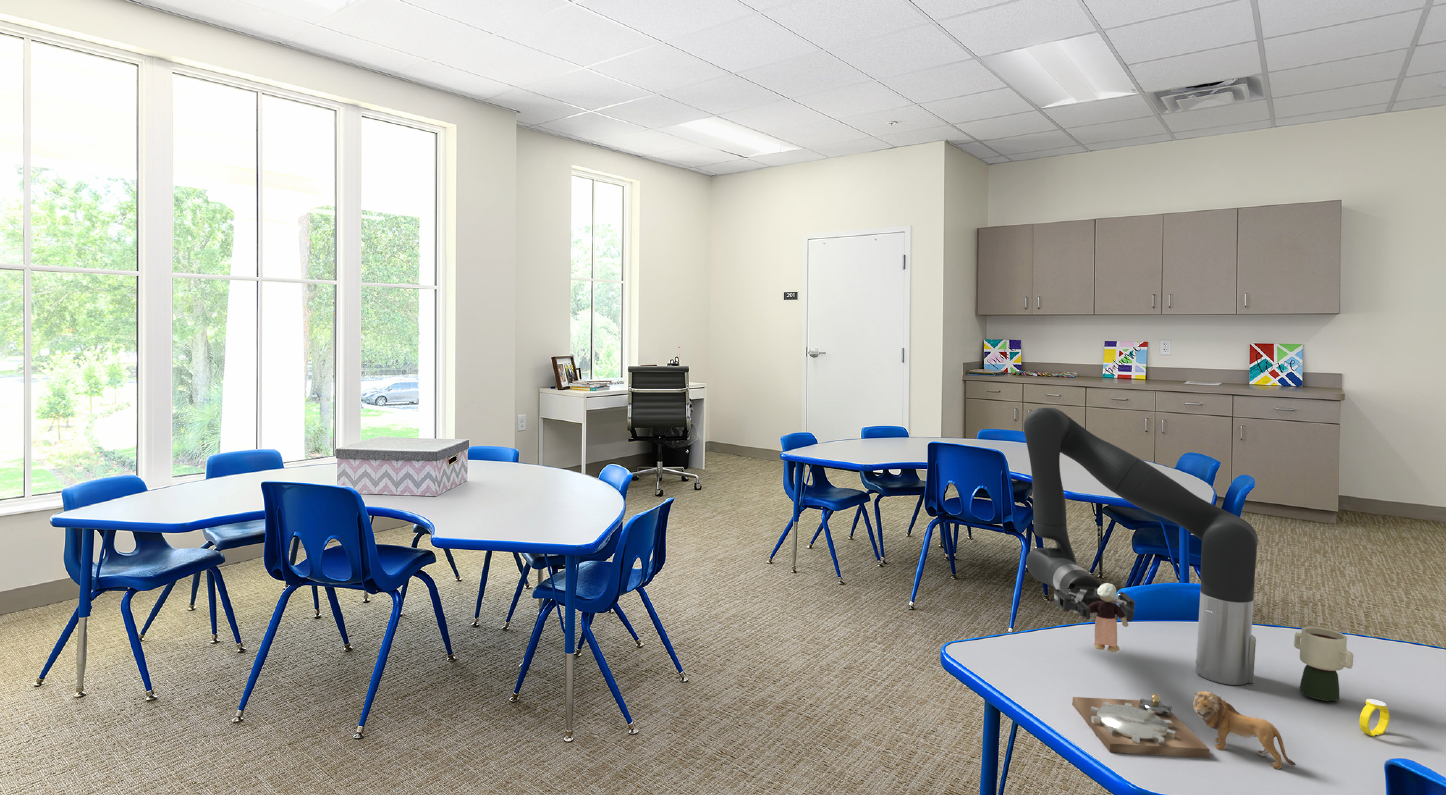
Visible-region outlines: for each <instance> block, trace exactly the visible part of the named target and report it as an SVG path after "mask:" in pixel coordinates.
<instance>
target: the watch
mask: <svg viewBox="0 0 1446 795" xmlns="http://www.w3.org/2000/svg"><path fill="white" fill-rule="evenodd" d="M1365 704H1366V705H1365V706H1364V707H1363V708H1362V710H1361V713H1360V716H1359V721H1358V722H1359V728H1360V731H1361V732H1362V733H1363V732H1364V733H1365V734H1364V733H1363V734H1364V735H1366V734H1368V735H1367V736H1369V735H1370V736H1369V737H1371V736H1373V737H1376V736H1375V735H1377V734H1378V735H1377V736H1380V735H1379V734H1381V735H1382V734H1383V735H1384V733H1386V731H1387V729H1388V727H1389V724H1390V718H1391V717H1390V711H1389V708H1388V706H1387V704H1386V703H1385V702H1384V701H1380V700H1377V699H1375V698H1374V699H1373V698H1367V699H1365ZM1377 709H1378V710H1379V720H1378V722H1377V725H1376V726H1375V727H1374V729H1370V719H1371V717H1372V714H1373V713H1374V711H1376V710H1377ZM1370 731H1371V732H1370Z"/></svg>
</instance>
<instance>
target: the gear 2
mask: <svg viewBox="0 0 1446 795" xmlns="http://www.w3.org/2000/svg"><path fill="white" fill-rule="evenodd" d="M1139 700H1140V704H1139V708H1140V709H1143V710H1146V711H1147V710H1149V709H1151V710H1154V711H1156V715H1157V716H1165V717H1167V718H1169V717H1170V714H1171V712H1172V710H1173V709H1172V706H1171V705H1169V704H1165V703H1163V702H1162V703H1160V702H1161V701H1160V694H1159V693H1156V692H1155V693H1154V692H1153V693H1151V700H1149V699H1147V700H1146V699H1144V698H1139ZM1159 701H1160V702H1159Z"/></svg>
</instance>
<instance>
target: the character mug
mask: <svg viewBox="0 0 1446 795" xmlns="http://www.w3.org/2000/svg"><path fill="white" fill-rule="evenodd" d="M1347 640H1348V638H1347V636H1346V635H1345V634H1343V633H1341V632H1339V631H1336V630H1334V629H1330V628H1326V627H1318V626H1303V627H1302V628H1301V632H1295V634H1294V639H1293V641H1294V642H1293V647H1294V648H1296V649H1297V650H1299V660H1300V661H1301V663H1303V664H1305V666H1304V668H1303V672H1302V676H1301V680H1300V685H1299V691H1300V692H1301V693H1302V694H1303V695H1304V696H1307V697H1309V698H1312V699H1316V700H1321V701H1326V700H1328V701H1340V698H1341V697H1340V695H1341V694H1340V681H1339V675H1338V673H1337V671H1342V670H1343V669H1344V668H1346V669H1350V670H1351V669H1352V668H1353V666H1354V653H1353V652H1351V651H1350V650H1348V648H1347V644H1348V643H1347V642H1348V641H1347Z"/></svg>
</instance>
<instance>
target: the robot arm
mask: <svg viewBox="0 0 1446 795" xmlns="http://www.w3.org/2000/svg"><path fill="white" fill-rule="evenodd" d="M1023 433H1024V438H1025V443H1026V447H1027V451H1028V457H1029V462H1030V469H1031V470H1030V471H1031V484H1032V485H1031V486H1032V502H1033V503H1032V507H1033V531H1034V534H1035V535H1036V536H1037V537H1039V538H1042V539H1046V540H1047V539H1048V540H1052V541H1053V542H1054V543H1055V545H1056V547H1037V548H1033V549H1032V550H1030V551H1029V552H1028V553H1027V555H1026V558H1025V559H1026V560H1025V561H1026V562H1025V564H1026V567H1027V570H1028V572H1029V574H1030V575H1031V577H1032V578H1034V579H1035V580H1036V581H1038V582H1040V583H1043V584H1046V585H1047V586H1051V587H1053V588H1054V590H1053V591H1054V592H1053V593H1054V594H1053V596H1054V597H1053V602H1054V604H1056V605H1057V606H1058V607H1059V608H1060V609H1061V610H1063V612H1070V611H1071V610H1072V611H1073V613H1075V614H1078V615H1079V616H1080V617H1082V618H1084V620H1090V618H1091V614H1090V608H1089V607H1088V606H1089V605H1090V604H1091V603H1093V602H1097V601H1103V600H1102V599H1101V598H1100V596H1099V595H1098V594H1097V590H1098V588H1099V587H1100V585H1102V583H1101V582H1100V580H1098V579H1097V578H1096V577H1095V576H1093V575H1092V574H1091V573H1090V572H1088V571H1087V570H1086V569H1085V568H1083V567H1081V566H1080V565H1078V564H1077V560H1076V555H1075V554H1074V551H1073V548H1072V545H1071V542H1070V539H1069V538H1070V537H1069V534H1068V525H1067V504H1066V498H1065V497H1066V496H1065V491H1064V486H1063V482H1062V476H1061V475H1062V474H1061V466H1060V465H1061V464H1060V458H1061V454H1062V455H1064V456H1065V457H1068V458H1070V459H1072V460H1073V461H1075V462H1076V463H1078V464H1079V465H1080V466H1081V467H1082V468H1084V469H1085V470H1086V471H1087V472H1088V473H1089V474H1090V475H1091V476H1093V477H1094V479H1096V480H1097V481H1098V482H1099V483H1100V484H1102V485H1103V486H1104V488H1107V490H1110V491H1111V492H1112V493H1114V494H1115V495H1117V496H1118V497H1120V498H1122V499H1123V500H1125V501H1127V502H1128V503H1130V504H1131V505H1133V506H1135V507H1137V508H1139V509H1142V510H1144V511H1146V512H1148V513H1151V514H1153V515H1155V516H1159V517H1161V518H1164V519H1166V520H1169V521H1171V522H1173V523H1175V524H1177V525H1179V526H1180V527H1182V528H1184V529H1185V530H1187V531H1188V532H1189V533H1190V534H1192V535H1193V536H1195V537H1196V538H1198V539H1199V540H1200V541H1201V552H1200V553H1201V557H1200V558H1201V559H1200V575H1199V576H1200V577H1199V578H1200V579H1199V580H1200V591H1199V593H1200V594H1199V609H1198V625H1197V641H1196V658H1195V659H1196V660H1195V672H1196V673H1197V674H1198V675H1199V676H1201V677H1202V678H1204V679H1206V680H1209V681H1213V682H1215V683H1220V684H1224V685H1229V686H1243V685H1246V684H1248V683H1254V674H1255V661H1256V660H1255V659H1256V646H1257V644H1256V643H1257V638H1256V636H1254V635H1252V634H1253V633H1252V632H1253V630H1252V629H1253V616H1254V601H1255V598H1254V597H1255V589H1256V588H1255V587H1256V586H1255V583H1256V582H1255V580H1256V565H1257V551H1258V549H1257V548H1258V543H1259V540H1258V539H1259V537H1258V534H1257V531H1256V529H1254V527H1253V525H1252V524H1250V522H1248V521H1246V520H1245V519H1244V518H1242V517H1240V516H1237V515H1235V514H1233V513H1231V512H1229V511H1227V510H1225V509H1224V508H1223V509H1222V508H1220V507H1218V506H1217V505H1214V504H1213V503H1210V502H1208V501H1207V500H1204V499H1203V498H1202V497H1199V496H1198V495H1196V494H1194V492H1191V491H1189V489H1187V488H1185V486H1183V485H1182V484H1180V483H1179V482H1177V481H1176V480H1174V479H1172V478H1171V477H1170V476H1168V475H1166V474H1165V473H1164V472H1162V471H1160V470H1159V469H1157V468H1155V467H1154V466H1153V465H1150V464H1149V463H1148V462H1146V461H1144V460H1142V459H1140V457H1137V456H1135V455H1133V454H1131V453H1130V452H1128V451H1126V450H1124V449H1122V448H1120V447H1118V446H1116V445H1115V444H1112V443H1110V442H1108V441H1106V440H1104V439H1102V438H1100V437H1098V436H1096V435H1094V434H1093V433H1092V432H1090V431H1088V429H1086V428H1084V427H1083V426H1082V425H1081V424H1079V423H1077V421H1075V420H1074V419H1072V418H1071V417H1070V416H1068V415H1067V413H1065V412H1064V411H1062V410H1060V409H1058V408H1055V407H1040V408H1039V407H1038V408H1036V409H1033V410H1032V411H1030V413H1028V414H1027V416H1026V417H1025V419H1024V422H1023ZM1117 594H1118V595H1116V597H1115V598H1114V600H1113V601H1112V602H1111V603H1114V604H1116V605H1118V606H1119V607H1120V608H1121V609H1122V611H1123V612H1124V614H1125V617H1126V619H1127V622H1132V621H1133V619H1134V615H1135V605H1136V601H1135V600H1134V599H1133V598H1131V597H1130V596H1129V595H1128V594H1127V593H1126V592H1124V591H1119V592H1118V593H1117Z"/></svg>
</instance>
